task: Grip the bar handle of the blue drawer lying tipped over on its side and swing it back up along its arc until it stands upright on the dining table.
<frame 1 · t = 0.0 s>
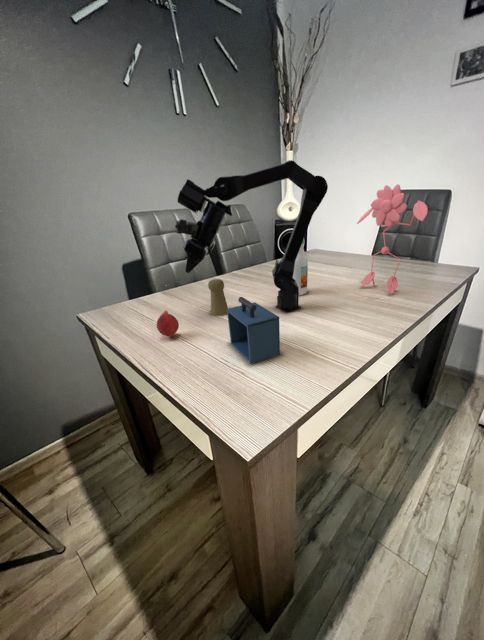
hand: (190, 268, 87), 15 cm above the table, tool tilted 35°, fingers open, 9 cm apart
figurine: (372, 292, 104), on the table
onion: (170, 337, 79), on the table
blue drawer: (252, 325, 67), point 7 cm above the table, hinge at 90.0°
tan chess pawn: (219, 312, 94), on the table
milk bottle: (297, 293, 108), on the table
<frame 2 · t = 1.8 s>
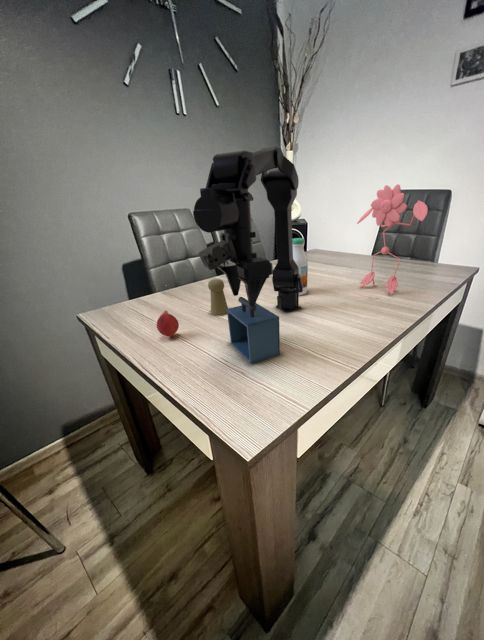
hand: (243, 300, 63), 13 cm above the table, tool pointing down, fingers open, 9 cm apart
nothing on the table moved.
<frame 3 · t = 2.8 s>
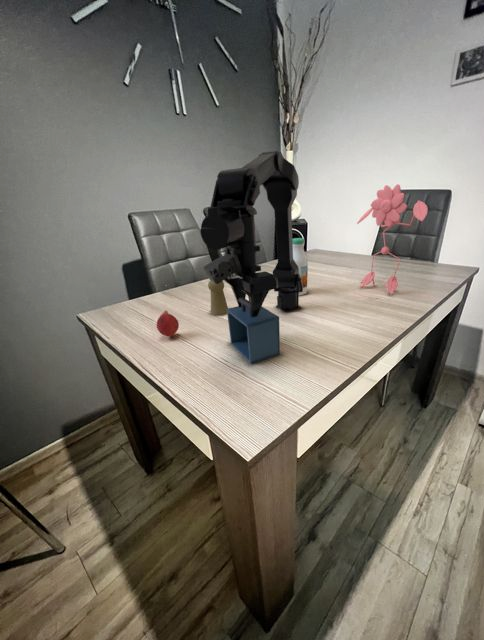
hand: (247, 311, 64), 11 cm above the table, tool pointing down, fingers closed on blue drawer, 7 cm apart
blue drawer: (252, 325, 67), point 7 cm above the table, hinge at 90.0°, touching gripper
everything else where it was.
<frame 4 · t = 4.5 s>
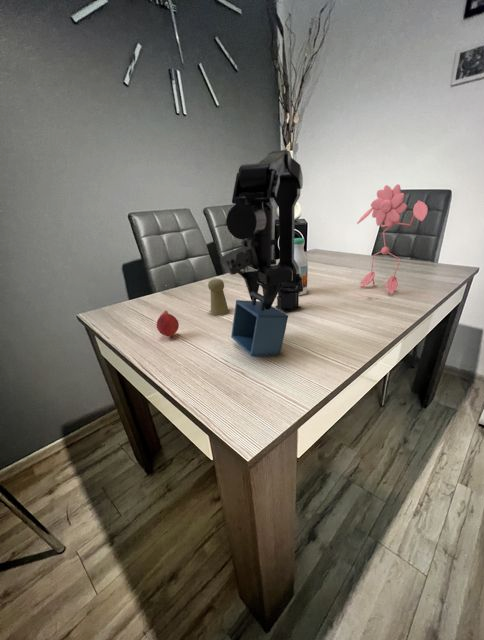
hand: (260, 304, 65), 11 cm above the table, tool pointing down, fingers closed on blue drawer, 7 cm apart
blue drawer: (258, 320, 67), point 7 cm above the table, hinge at 75.4°, touching gripper
everything else where it was.
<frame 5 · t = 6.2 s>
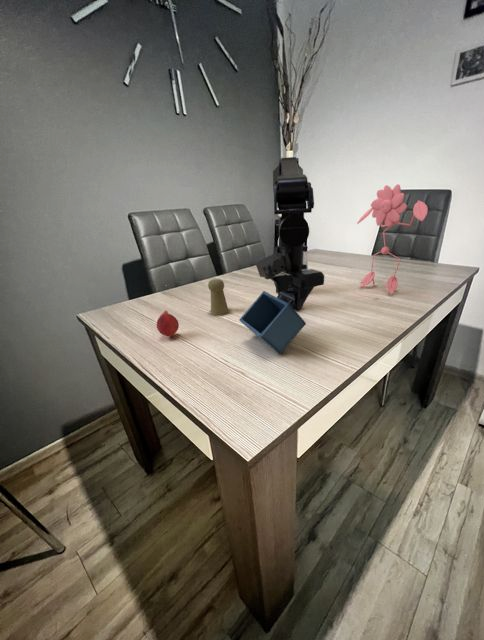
hand: (289, 306, 70), 9 cm above the table, tool pointing down, fingers closed on blue drawer, 7 cm apart
blue drawer: (275, 316, 69), point 7 cm above the table, hinge at 39.0°, touching gripper
everything else where it was.
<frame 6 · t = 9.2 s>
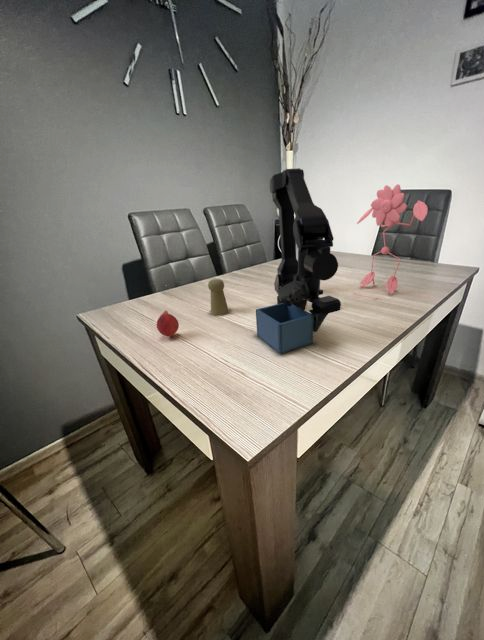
hand: (307, 327, 76), 2 cm above the table, tool pointing down, fingers closed on blue drawer, 7 cm apart
blue drawer: (288, 324, 72), point 4 cm above the table, hinge at 0.0°, touching gripper
everything else where it was.
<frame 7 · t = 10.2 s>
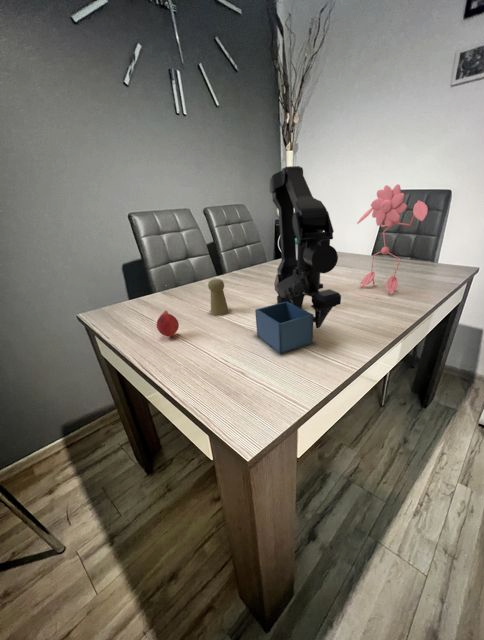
hand: (307, 322, 75), 3 cm above the table, tool pointing down, fingers open, 9 cm apart
blue drawer: (288, 324, 72), point 4 cm above the table, hinge at 1.1°
everything else where it was.
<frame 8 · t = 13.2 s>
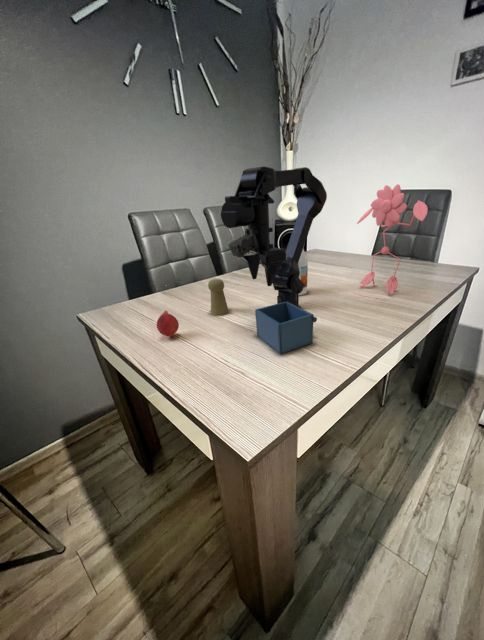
hand: (261, 282, 80), 12 cm above the table, tool pointing down, fingers open, 9 cm apart
nothing on the table moved.
at the end: blue drawer at +1° (first picture: +90°); the gripper is holding nothing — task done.
